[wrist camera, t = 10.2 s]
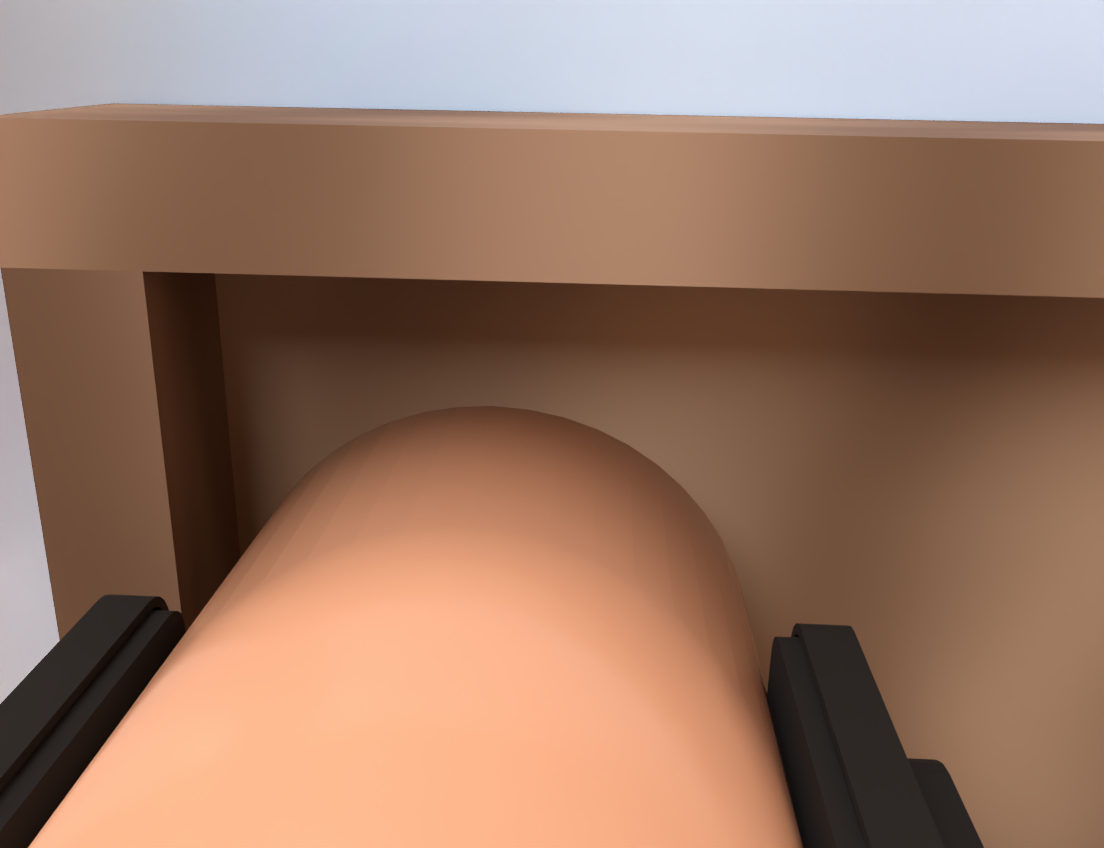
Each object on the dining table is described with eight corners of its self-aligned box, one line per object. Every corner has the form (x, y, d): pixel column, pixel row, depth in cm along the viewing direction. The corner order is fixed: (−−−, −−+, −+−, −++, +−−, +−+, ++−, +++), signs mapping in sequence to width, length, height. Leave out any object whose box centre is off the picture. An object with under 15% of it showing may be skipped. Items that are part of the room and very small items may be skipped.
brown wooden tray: (1777, 137, 12) (2122, 163, 10) (1464, 933, 16) (1643, 1116, 14) (111, 103, 13) (-24, 116, 10) (201, 868, 17) (121, 1027, 14)
